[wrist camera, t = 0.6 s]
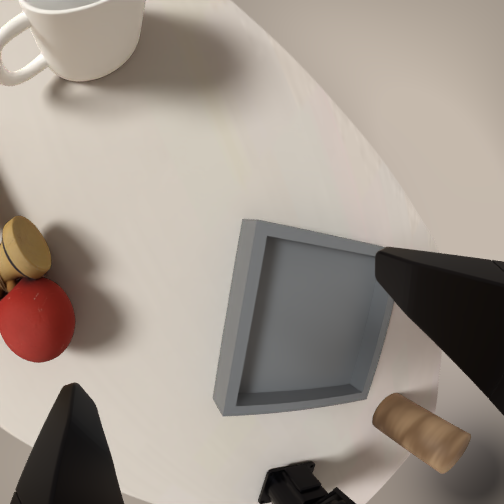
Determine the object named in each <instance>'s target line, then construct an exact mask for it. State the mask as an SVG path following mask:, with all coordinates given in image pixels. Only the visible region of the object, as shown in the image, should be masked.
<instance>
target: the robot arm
mask: <svg viewBox="0 0 504 504" xmlns="http://www.w3.org/2000/svg"><path fill="white" fill-rule="evenodd" d="M375 278H376V280H377V282H378V283H379V284H380V285H381V286H382V287H383V289H384V290H385V291H386V292H387V293H388V294H389V295H390V297H391V298H392V299H393V300H394V301H395V302H396V304H397V305H398V306H399V307H400V308H401V309H402V311H403V312H404V313H405V314H406V315H407V316H408V317H409V318H410V319H411V320H412V321H413V322H414V323H415V324H416V325H417V326H418V327H419V328H420V329H421V330H422V331H423V332H424V333H425V334H426V335H428V336H429V337H430V338H431V339H432V340H433V341H434V342H435V343H436V344H437V345H438V346H439V347H440V348H441V349H442V350H443V351H444V352H445V353H446V354H447V355H448V356H449V357H450V358H451V360H452V361H453V362H454V363H455V364H456V365H457V366H458V367H459V368H460V369H461V370H462V371H463V372H464V373H465V374H466V375H467V376H468V377H469V378H470V379H471V380H472V381H473V382H474V383H475V384H476V386H477V387H478V388H479V389H480V390H481V391H482V392H483V393H484V394H485V395H486V396H487V397H488V398H489V400H490V401H491V402H492V403H493V404H494V405H495V406H496V408H497V409H498V410H499V411H500V412H501V413H502V414H503V415H504V262H502V261H495V260H492V261H491V260H487V259H480V258H473V257H464V256H457V255H449V254H442V253H434V252H427V251H419V250H410V249H402V248H394V247H385V248H383V249H381V250H379V251H377V252H376V255H375ZM314 467H315V463H314V462H308V463H304V464H299V465H294V466H289V467H284V468H279V469H273V470H269V471H268V472H267V474H266V477H265V480H264V484H263V487H262V490H261V493H260V496H259V499H258V502H259V503H260V504H265V503H270V502H271V503H272V504H356V503H354V502H353V501H352V500H351V499H350V498H349V497H348V496H346V495H345V494H344V493H343V492H342V491H341V490H340V489H338V488H337V487H336V488H334V489H333V491H331V492H330V493H328V492H327V491H326V490H325V489H324V488H323V487H322V486H321V483H320V482H319V480H318V479H317V478H316V477H315V476H314V475H313V474H312V472H313V470H314ZM10 504H124V501H123V498H122V495H121V491H120V487H119V484H118V480H117V476H116V472H115V468H114V464H113V460H112V456H111V453H110V450H109V447H108V444H107V441H106V437H105V434H104V431H103V428H102V424H101V421H100V417H99V414H98V410H97V407H96V405H95V403H94V401H93V400H92V399H91V398H90V397H89V395H88V394H87V393H86V392H85V391H84V389H83V388H82V387H81V386H80V385H79V384H78V383H71V384H68V385H65V386H64V387H63V388H62V389H61V391H60V393H59V395H58V397H57V399H56V401H55V403H54V405H53V407H52V409H51V411H50V413H49V415H48V417H47V419H46V421H45V423H44V425H43V427H42V429H41V431H40V434H39V436H38V438H37V440H36V442H35V444H34V447H33V449H32V451H31V453H30V456H29V458H28V460H27V463H26V465H25V467H24V470H23V472H22V474H21V477H20V479H19V482H18V484H17V487H16V492H14V495H13V497H12V500H11V503H10Z"/></svg>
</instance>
